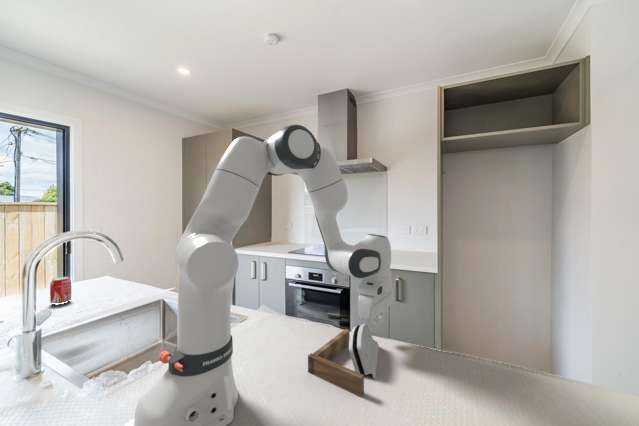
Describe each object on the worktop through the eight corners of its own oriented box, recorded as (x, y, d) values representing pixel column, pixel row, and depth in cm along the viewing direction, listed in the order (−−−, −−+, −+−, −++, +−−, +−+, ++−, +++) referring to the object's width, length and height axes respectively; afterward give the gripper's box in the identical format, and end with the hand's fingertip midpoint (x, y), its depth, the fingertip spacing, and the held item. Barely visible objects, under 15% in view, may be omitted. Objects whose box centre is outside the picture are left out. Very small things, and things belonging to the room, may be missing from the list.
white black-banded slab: (375, 379, 66) (362, 341, 67) (358, 382, 68) (345, 345, 68) (379, 346, 82) (368, 316, 83) (365, 349, 84) (355, 319, 84)
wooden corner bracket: (361, 397, 60) (361, 378, 60) (307, 372, 69) (307, 355, 69) (390, 358, 76) (390, 343, 76) (344, 341, 85) (344, 328, 85)
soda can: (50, 303, 121) (50, 278, 121) (71, 299, 126) (71, 275, 126) (49, 307, 116) (49, 281, 116) (71, 303, 121) (70, 278, 120)
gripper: (380, 274, 94) (381, 311, 95) (354, 289, 78) (354, 333, 78) (397, 277, 91) (397, 315, 91) (373, 293, 74) (374, 340, 75)
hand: (377, 324), depth 84 cm, fingers closed
